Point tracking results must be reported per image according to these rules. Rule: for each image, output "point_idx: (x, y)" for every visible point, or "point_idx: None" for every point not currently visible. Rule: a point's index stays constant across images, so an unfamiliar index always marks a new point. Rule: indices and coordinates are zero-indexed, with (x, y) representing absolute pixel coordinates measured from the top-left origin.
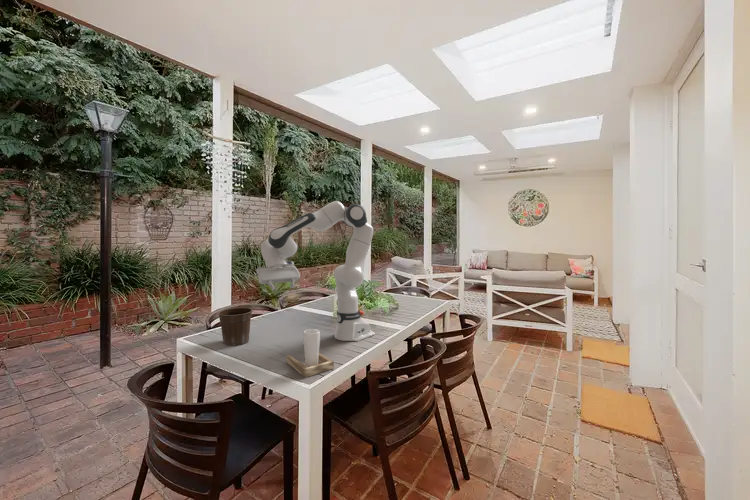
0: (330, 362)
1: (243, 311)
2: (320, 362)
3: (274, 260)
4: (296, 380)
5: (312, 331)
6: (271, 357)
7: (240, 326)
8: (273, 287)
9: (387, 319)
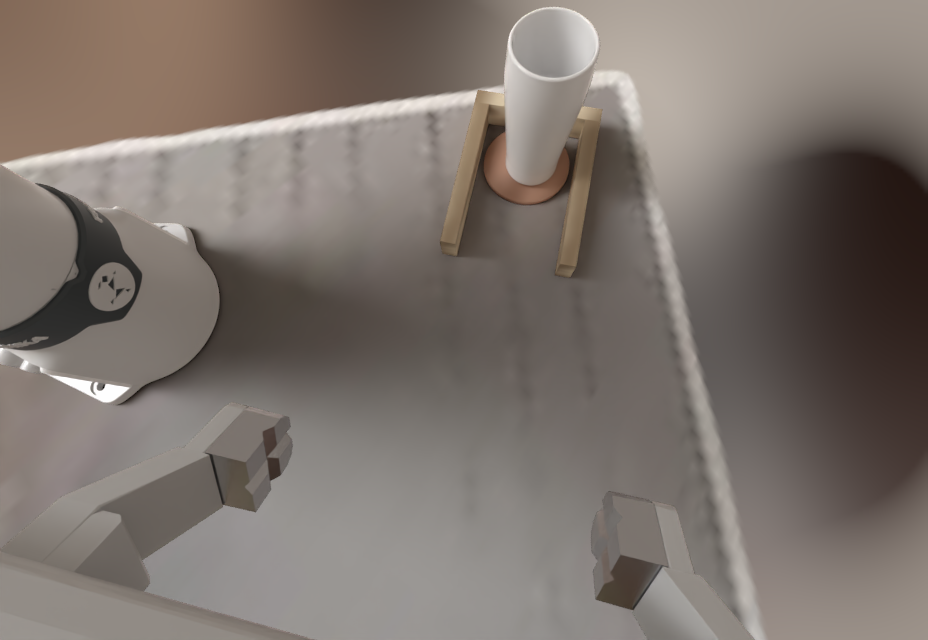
0: (492, 92)
1: None
2: (475, 177)
3: None
4: (631, 133)
5: (522, 78)
6: (584, 379)
7: None
8: (672, 517)
9: None
